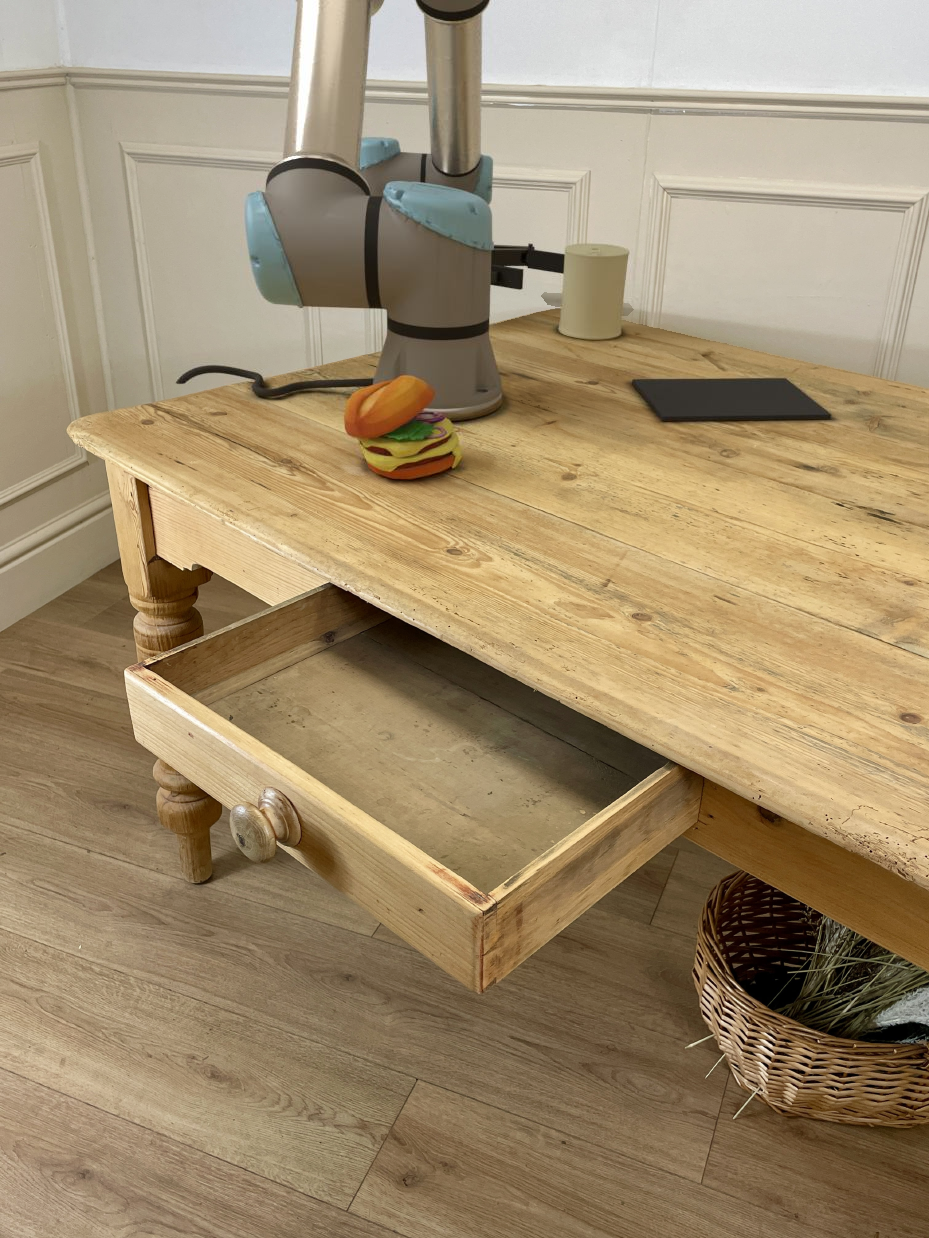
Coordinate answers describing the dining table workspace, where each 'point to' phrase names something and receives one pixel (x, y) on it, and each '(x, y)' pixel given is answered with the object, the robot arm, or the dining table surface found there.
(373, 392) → the cheeseburger
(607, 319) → the can
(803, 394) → the placemat
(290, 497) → the dining table surface
